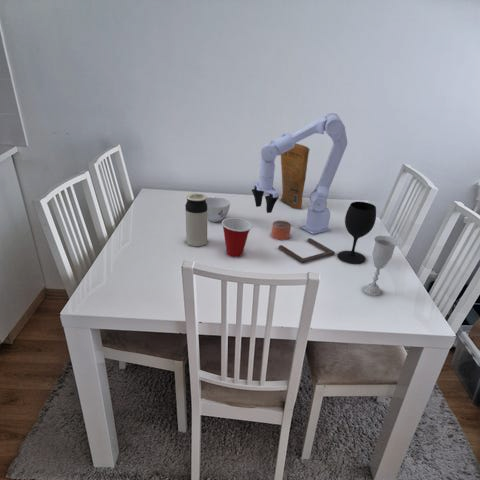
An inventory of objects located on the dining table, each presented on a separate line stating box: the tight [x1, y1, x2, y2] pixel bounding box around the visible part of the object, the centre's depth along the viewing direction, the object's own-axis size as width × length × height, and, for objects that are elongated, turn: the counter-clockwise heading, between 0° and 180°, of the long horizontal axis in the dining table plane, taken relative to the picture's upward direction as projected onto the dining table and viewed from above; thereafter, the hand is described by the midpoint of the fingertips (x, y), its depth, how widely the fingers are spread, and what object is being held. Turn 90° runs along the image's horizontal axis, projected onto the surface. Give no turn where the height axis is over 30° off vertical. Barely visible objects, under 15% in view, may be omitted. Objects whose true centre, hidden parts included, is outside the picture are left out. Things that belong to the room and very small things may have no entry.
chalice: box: [363, 235, 399, 296], centre depth 131 cm, size 7×7×18 cm
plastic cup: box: [221, 217, 253, 258], centre depth 151 cm, size 11×11×12 cm
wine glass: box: [337, 201, 377, 265], centre depth 150 cm, size 10×10×20 cm
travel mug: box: [185, 192, 208, 247], centre depth 155 cm, size 8×8×18 cm
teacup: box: [206, 196, 231, 223], centre depth 178 cm, size 15×12×8 cm
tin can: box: [270, 220, 292, 241], centre depth 168 cm, size 8×8×5 cm
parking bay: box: [278, 237, 336, 265], centre depth 158 cm, size 16×14×1 cm
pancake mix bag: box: [280, 142, 311, 210], centre depth 193 cm, size 7×19×28 cm, turn 30°
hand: (263, 209), depth 173 cm, fingers open, 7 cm apart
